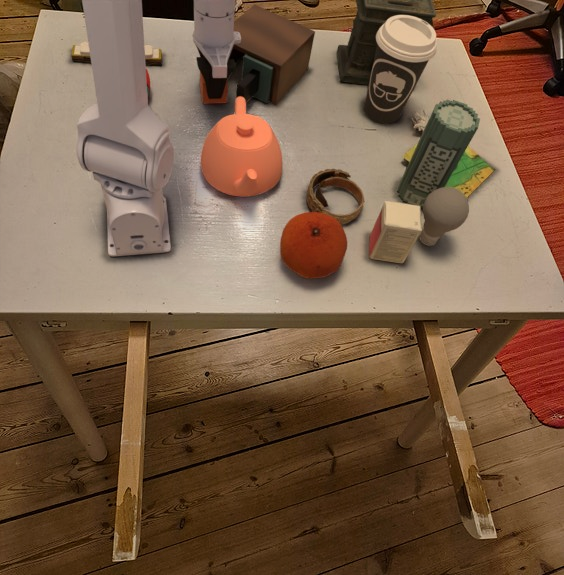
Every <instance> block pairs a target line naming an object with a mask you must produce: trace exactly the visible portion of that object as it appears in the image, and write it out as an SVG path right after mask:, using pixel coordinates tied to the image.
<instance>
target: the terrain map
mask: <svg viewBox="0 0 564 575" xmlns="http://www.w3.org/2000/svg"><path fill="white" fill-rule="evenodd" d="M417 144H418V142H417V143H416V144H415V145H413V146H412V147H411V148H410V149H409V150H407V151H406V152H405V153H404V154H402V157H403V158H404V159H405V160H406V161H407V162H408V163H409V162H410V160H411V157H412V155H413V153H414V151H415V149H416V147H417ZM494 171H496V168H494V167H493V166H492V165H490V164H489V163H488V162H487V161H485V160H484V159H483V158H482V157H481V156H480V154H479V153H477V152H476V151H475V150H474V149H472V148H471V147H470V146H468V147H467V148H466V150H465V152H464V154H463V155H462V157H461V159H460V161H459V162H458V164H457V166H456V168H455V169H454V171H453V173H452V175H451V176H450V178H449V180H448V182H447V183H446V185H445V187H452V188H455V189H458V190H459V191H461V192H462V193H463V194H464V195H465V197H466V198H467V199H468V197H469V196H470V195H471V194H473V193H474V192H475V191H476V190H477V189H478V188H479V186H480V185H482V183H483V182H485V180H486V179H487V178H488V177H490V176H491V175H492V174H493V172H494Z"/></svg>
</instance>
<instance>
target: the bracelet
mask: <svg viewBox="0 0 564 575" xmlns="http://www.w3.org/2000/svg"><path fill="white" fill-rule="evenodd" d="M351 176H352V175H350V173H349V172H347V171H344V170H342V169H340V168H338V169H336V168H325V169H324V170H319V171H318V172H317V173H315V174H313V176H312V177H311V178H310V180H309V183H308V187H307V190H306V191H307V192H306V203H307V207H308V208H309V209H311V212H318V213H325V214H327V215H330V216H332V217H334V218H335V219H337V220H338V222H339V223H340V224H341V225H343V224H348V223H349V222H352V221H354V219H356V218H358V216H359V214H360V213H361V212H362V210H363V207H364V203H365V196H364V193H363V190H362V189H361V187H360V186H359V185H358V184H357V183H356V181H353V180H351V179H350V178H351ZM316 187H317V188H316ZM328 187H338V188H341V189H343V190H346V191H348V192H349V193H350V194H352V195H353V196H354V197H355V198H356V200H357V201H358V202H357V203H358V207H357V208H356V209H355V210H354V211H352V212H350V213H346V214H340V213H339V214H338V213H333V212H331V211H329V210H328V209H327V208H328V207H329V204H328V200H327V199H326V197H325V196H324V193H323V192H322V189H326V188H328ZM314 188H316V189H315V194H314Z"/></svg>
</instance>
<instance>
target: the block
mask: <svg viewBox="0 0 564 575" xmlns="http://www.w3.org/2000/svg"><path fill="white" fill-rule="evenodd" d="M199 90H200V96H201V102H202V104H227V103H228V94H229V92H228V91H229V79H228V80H227V82H226V85H225V89H224V92H223V95H222V97H221V99H209V98H208V95H207V91H206V85H205V80H204V78H203V75H202V74H201V72H200V71H199Z"/></svg>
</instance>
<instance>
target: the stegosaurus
mask: <svg viewBox="0 0 564 575" xmlns="http://www.w3.org/2000/svg"><path fill="white" fill-rule="evenodd" d="M422 113H423V114H424V115H422V114H419V113H418V111H415V113H414V114H415V115H414V117H411V118H410V119H411V121H412V123H413V128H414V130H418V131H420V132H421V131H422V132H423V131H424V129H425V127H426V125H427V123H428V120H429V118H430V116H428V114H427V112H426V110H425V109H423V110H422ZM414 119H415V120H414Z"/></svg>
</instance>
